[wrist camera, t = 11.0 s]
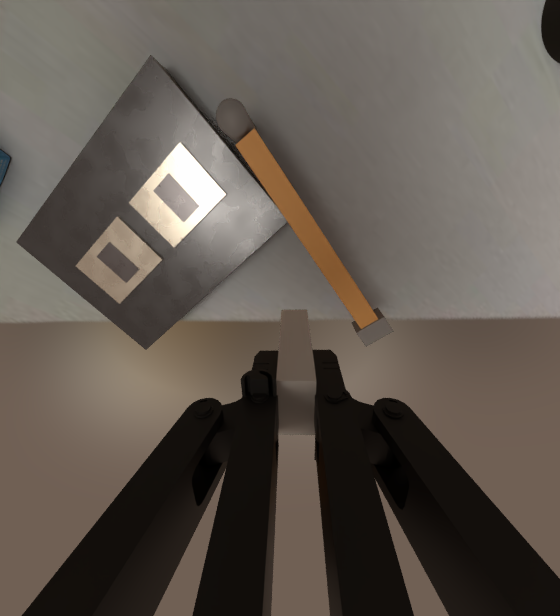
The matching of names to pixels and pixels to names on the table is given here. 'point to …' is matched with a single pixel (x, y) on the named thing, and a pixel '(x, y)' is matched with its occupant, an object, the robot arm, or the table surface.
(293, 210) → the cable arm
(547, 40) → the water bottle
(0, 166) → the ink box
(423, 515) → the robot arm
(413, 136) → the table surface
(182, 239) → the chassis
